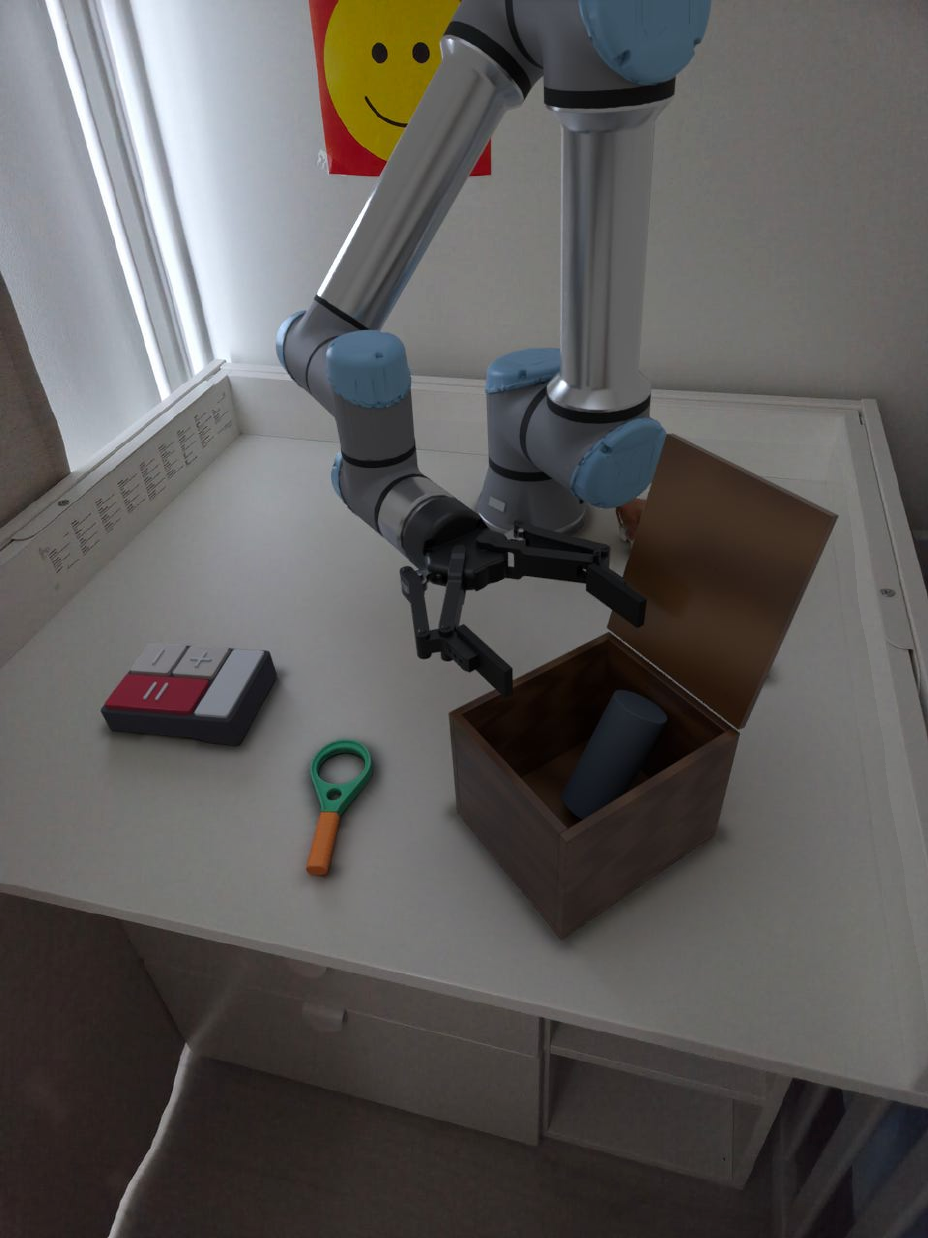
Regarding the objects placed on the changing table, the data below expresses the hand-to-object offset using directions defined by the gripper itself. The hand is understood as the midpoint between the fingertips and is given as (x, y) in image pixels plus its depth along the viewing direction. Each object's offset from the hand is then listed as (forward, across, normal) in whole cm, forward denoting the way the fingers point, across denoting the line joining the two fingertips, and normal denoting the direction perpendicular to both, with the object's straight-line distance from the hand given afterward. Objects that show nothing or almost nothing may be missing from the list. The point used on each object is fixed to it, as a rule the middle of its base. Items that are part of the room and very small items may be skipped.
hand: (578, 647), depth 64 cm
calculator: (-35, +24, -20) cm, 47 cm away
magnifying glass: (-13, +18, -20) cm, 30 cm away
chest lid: (+3, -10, +3) cm, 11 cm away
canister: (+2, 0, -17) cm, 18 cm away
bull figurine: (-24, -36, -20) cm, 47 cm away
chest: (+2, 0, -19) cm, 20 cm away
